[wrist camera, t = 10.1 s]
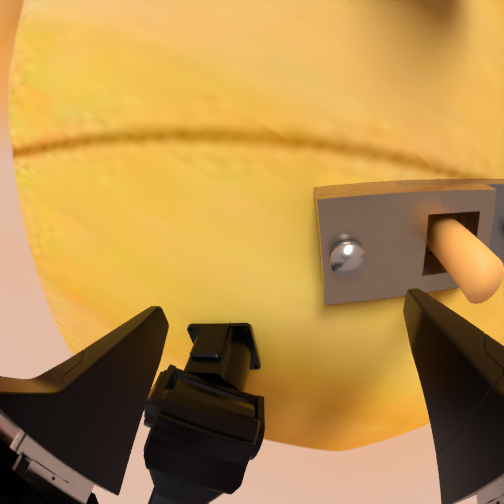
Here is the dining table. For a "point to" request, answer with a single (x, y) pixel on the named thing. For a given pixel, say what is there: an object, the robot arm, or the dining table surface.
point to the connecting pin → (464, 257)
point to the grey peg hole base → (500, 241)
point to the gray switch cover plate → (390, 236)
